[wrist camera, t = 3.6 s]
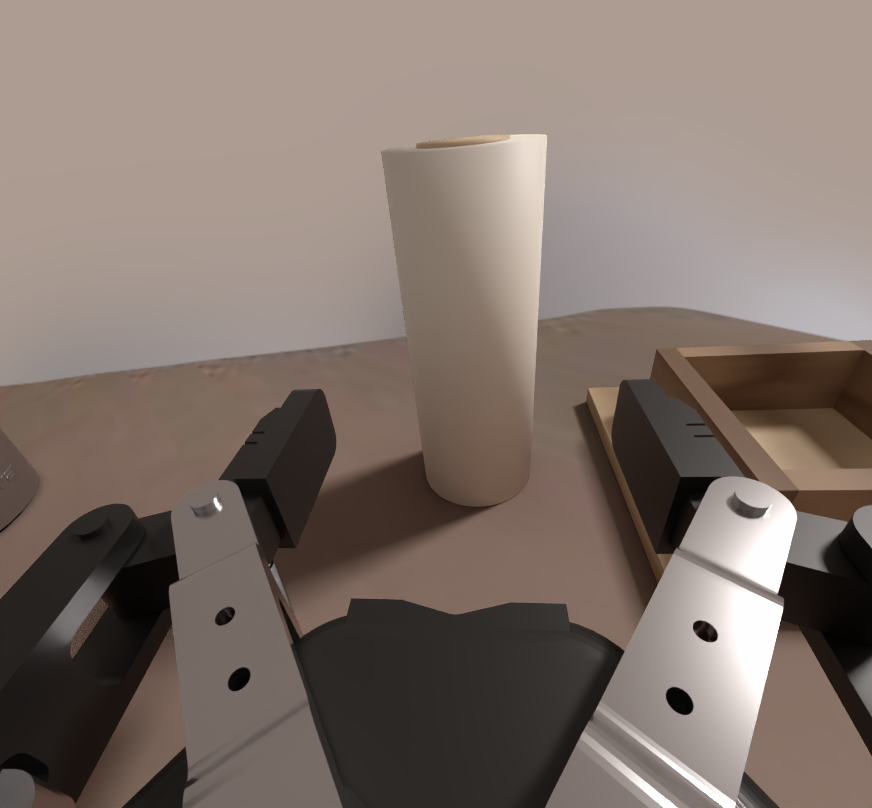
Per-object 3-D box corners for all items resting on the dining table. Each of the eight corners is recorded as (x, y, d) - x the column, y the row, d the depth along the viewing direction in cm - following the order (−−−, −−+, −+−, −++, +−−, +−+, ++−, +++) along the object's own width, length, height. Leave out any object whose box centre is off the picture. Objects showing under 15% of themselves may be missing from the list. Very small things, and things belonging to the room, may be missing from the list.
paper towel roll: (420, 507, 21) (365, 154, 12) (430, 435, 25) (394, 142, 17) (535, 506, 20) (560, 135, 12) (524, 433, 25) (536, 128, 16)
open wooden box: (669, 614, 16) (702, 534, 13) (586, 401, 27) (595, 336, 25) (1188, 626, 14) (1341, 536, 11) (862, 393, 25) (902, 323, 23)
